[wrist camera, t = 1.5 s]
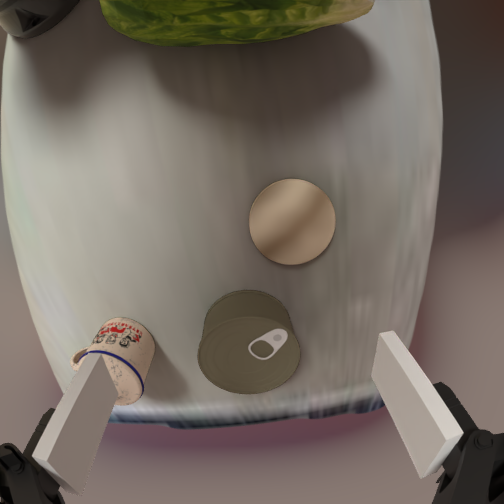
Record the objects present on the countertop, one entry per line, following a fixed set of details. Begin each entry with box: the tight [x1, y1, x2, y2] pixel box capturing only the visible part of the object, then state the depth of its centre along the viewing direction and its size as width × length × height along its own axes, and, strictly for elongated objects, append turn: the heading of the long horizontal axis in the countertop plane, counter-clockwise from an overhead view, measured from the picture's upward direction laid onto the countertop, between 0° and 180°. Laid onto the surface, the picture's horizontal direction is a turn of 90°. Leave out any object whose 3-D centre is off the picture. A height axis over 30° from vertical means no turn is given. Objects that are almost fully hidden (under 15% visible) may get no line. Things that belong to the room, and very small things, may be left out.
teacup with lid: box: [70, 318, 155, 405], centre depth 35 cm, size 12×9×12 cm
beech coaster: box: [249, 179, 336, 265], centre depth 35 cm, size 10×10×1 cm
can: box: [198, 290, 300, 394], centre depth 37 cm, size 12×12×7 cm
